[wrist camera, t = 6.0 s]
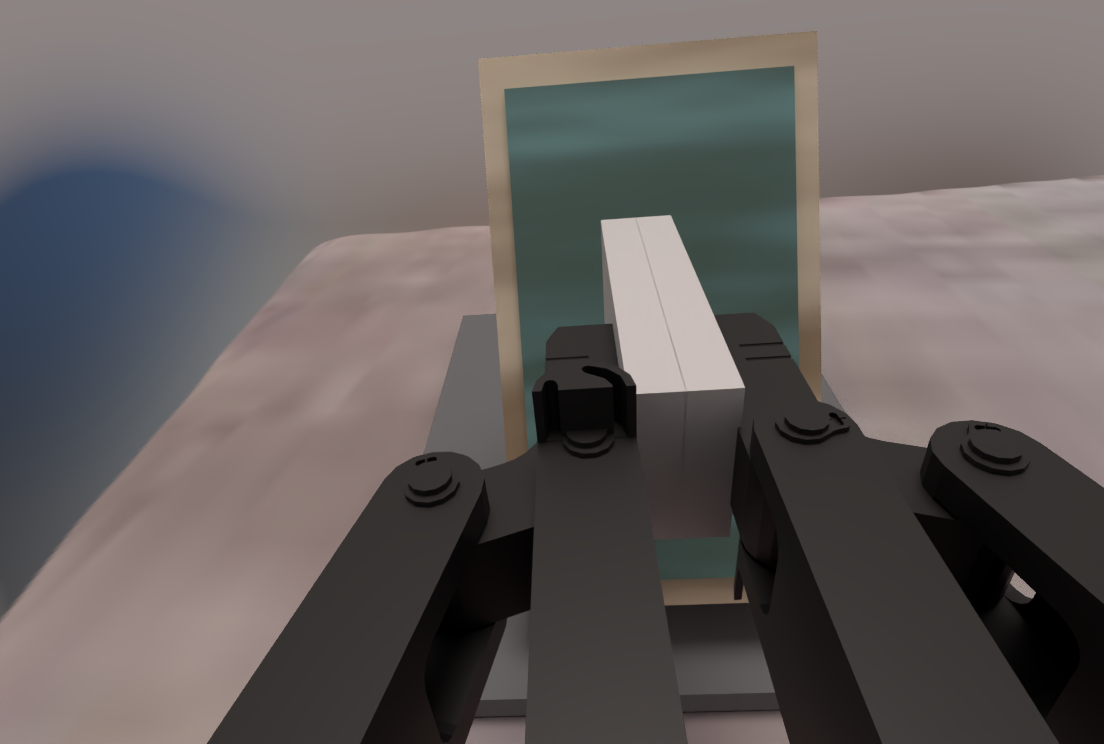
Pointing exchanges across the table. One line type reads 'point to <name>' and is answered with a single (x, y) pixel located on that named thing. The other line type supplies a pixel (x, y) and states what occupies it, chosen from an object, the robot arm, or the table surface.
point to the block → (654, 208)
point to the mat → (695, 630)
